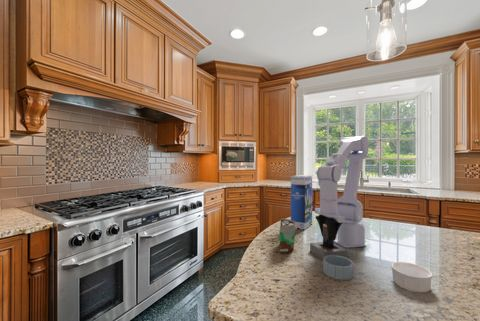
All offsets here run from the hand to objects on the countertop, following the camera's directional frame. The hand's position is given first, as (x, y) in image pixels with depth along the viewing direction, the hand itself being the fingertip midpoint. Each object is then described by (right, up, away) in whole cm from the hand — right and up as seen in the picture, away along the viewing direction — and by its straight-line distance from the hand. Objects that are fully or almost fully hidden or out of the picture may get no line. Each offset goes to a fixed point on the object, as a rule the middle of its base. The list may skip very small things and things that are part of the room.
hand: (328, 238), depth 80 cm
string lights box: (0, -6, +37) cm, 37 cm away
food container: (-13, -6, +5) cm, 15 cm away
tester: (0, -6, 0) cm, 6 cm away
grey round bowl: (-2, -6, -13) cm, 14 cm away
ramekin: (+15, -6, -19) cm, 25 cm away
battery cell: (0, -3, 0) cm, 3 cm away
